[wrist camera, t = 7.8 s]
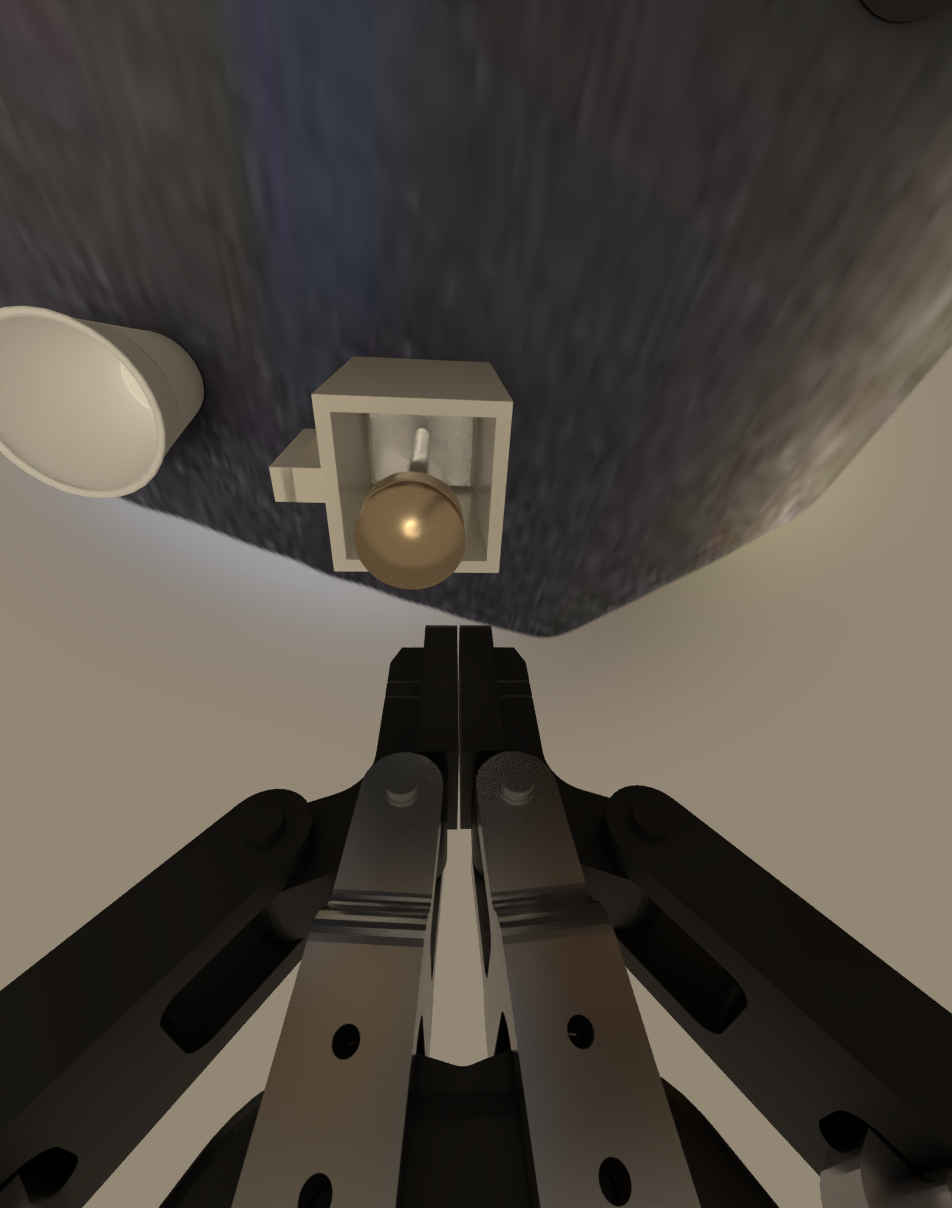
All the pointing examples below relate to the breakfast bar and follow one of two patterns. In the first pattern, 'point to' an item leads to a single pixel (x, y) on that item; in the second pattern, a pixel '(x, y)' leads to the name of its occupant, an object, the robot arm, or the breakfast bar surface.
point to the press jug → (345, 456)
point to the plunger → (415, 499)
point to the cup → (91, 400)
